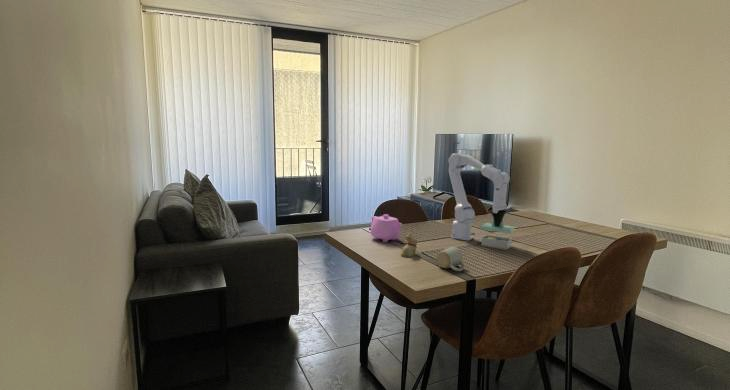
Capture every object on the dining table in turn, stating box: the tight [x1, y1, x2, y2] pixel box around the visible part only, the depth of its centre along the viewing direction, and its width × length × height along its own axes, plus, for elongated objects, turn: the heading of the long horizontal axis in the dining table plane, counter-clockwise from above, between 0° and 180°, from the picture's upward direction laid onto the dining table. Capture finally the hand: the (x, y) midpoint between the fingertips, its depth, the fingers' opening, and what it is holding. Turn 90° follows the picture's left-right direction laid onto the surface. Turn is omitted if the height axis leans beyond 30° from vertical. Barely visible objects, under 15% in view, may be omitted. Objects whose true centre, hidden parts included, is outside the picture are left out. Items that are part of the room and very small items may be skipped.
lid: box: [479, 220, 516, 234], centre depth 188 cm, size 14×10×4 cm
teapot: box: [370, 213, 403, 243], centre depth 196 cm, size 20×12×13 cm, turn 43°
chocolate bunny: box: [400, 232, 418, 257], centre depth 172 cm, size 6×8×10 cm
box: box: [480, 234, 513, 251], centre depth 189 cm, size 12×8×4 cm, turn 57°
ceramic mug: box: [436, 246, 465, 272], centre depth 156 cm, size 11×8×8 cm
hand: (497, 225), depth 188 cm, fingers closed on lid, 2 cm apart
